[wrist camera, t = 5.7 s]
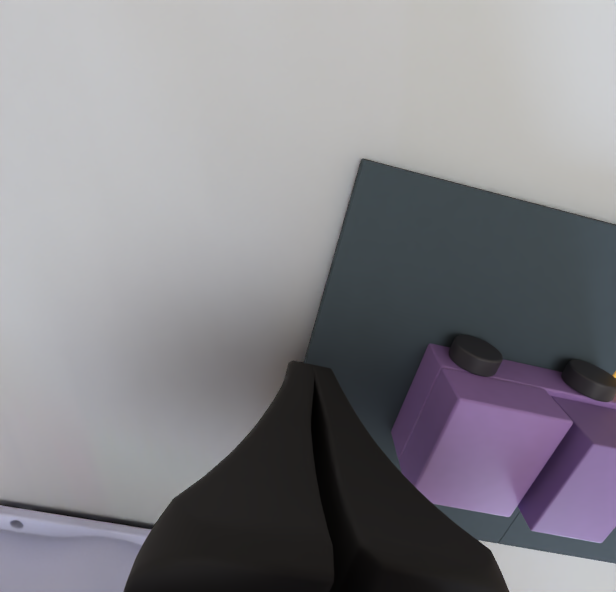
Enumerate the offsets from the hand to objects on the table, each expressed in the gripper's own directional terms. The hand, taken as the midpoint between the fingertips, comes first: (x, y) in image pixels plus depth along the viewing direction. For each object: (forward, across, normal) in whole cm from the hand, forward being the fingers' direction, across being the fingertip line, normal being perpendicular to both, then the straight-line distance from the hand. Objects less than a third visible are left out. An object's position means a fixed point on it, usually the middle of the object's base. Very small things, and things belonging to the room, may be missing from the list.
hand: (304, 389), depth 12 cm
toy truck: (+1, -7, 0) cm, 7 cm away
